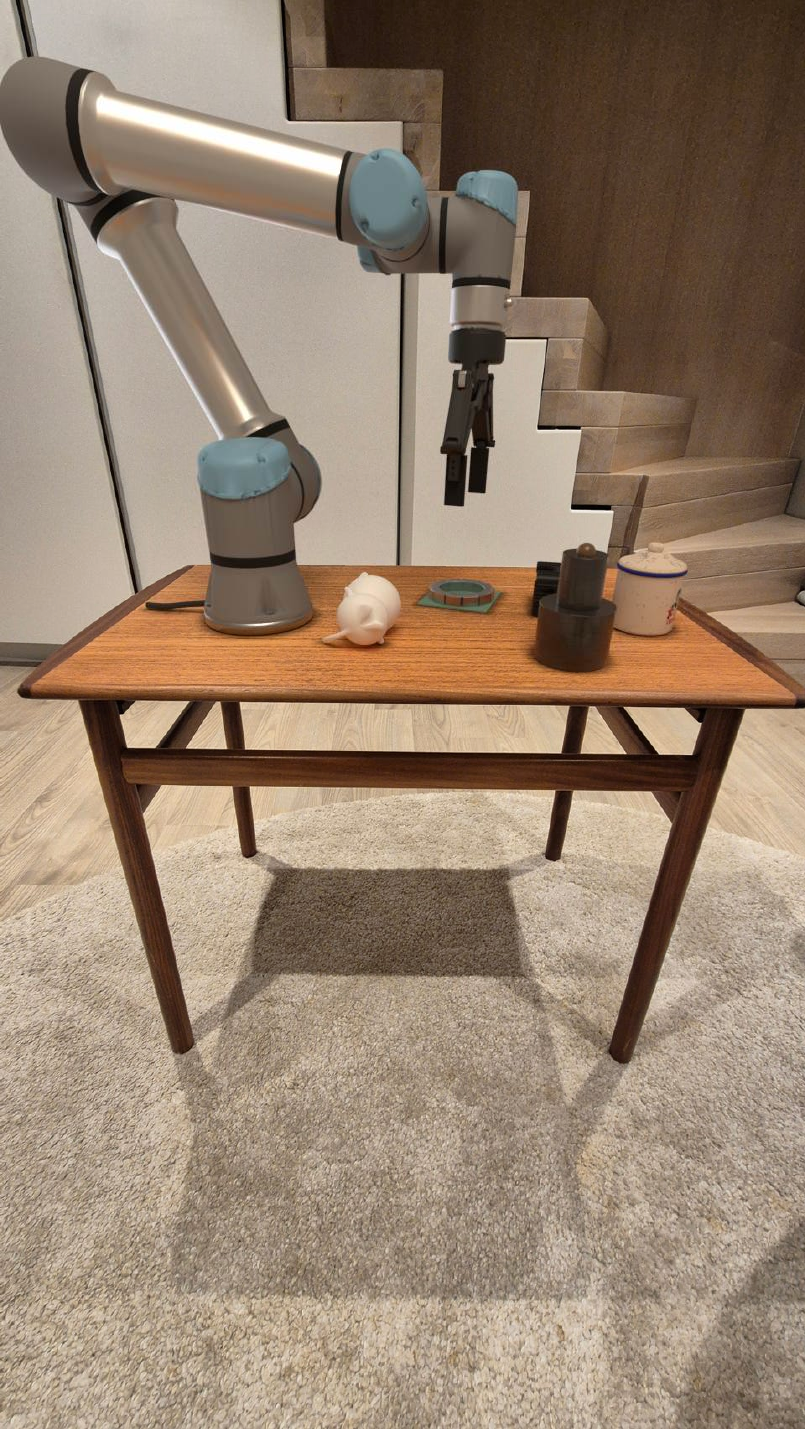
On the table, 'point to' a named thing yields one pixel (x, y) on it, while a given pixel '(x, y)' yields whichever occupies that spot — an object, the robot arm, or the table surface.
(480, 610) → the mat
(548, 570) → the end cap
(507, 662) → the table surface
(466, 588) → the segmented gray ring
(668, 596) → the teacup with lid
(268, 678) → the table surface
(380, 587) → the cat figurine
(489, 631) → the table surface
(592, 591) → the dark stepped cylinder
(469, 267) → the robot arm
